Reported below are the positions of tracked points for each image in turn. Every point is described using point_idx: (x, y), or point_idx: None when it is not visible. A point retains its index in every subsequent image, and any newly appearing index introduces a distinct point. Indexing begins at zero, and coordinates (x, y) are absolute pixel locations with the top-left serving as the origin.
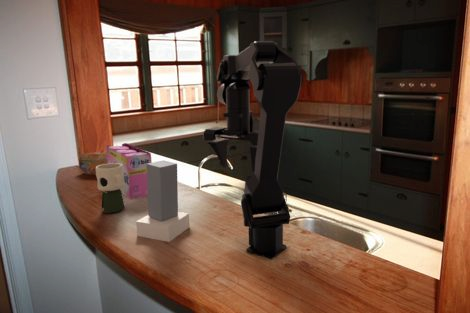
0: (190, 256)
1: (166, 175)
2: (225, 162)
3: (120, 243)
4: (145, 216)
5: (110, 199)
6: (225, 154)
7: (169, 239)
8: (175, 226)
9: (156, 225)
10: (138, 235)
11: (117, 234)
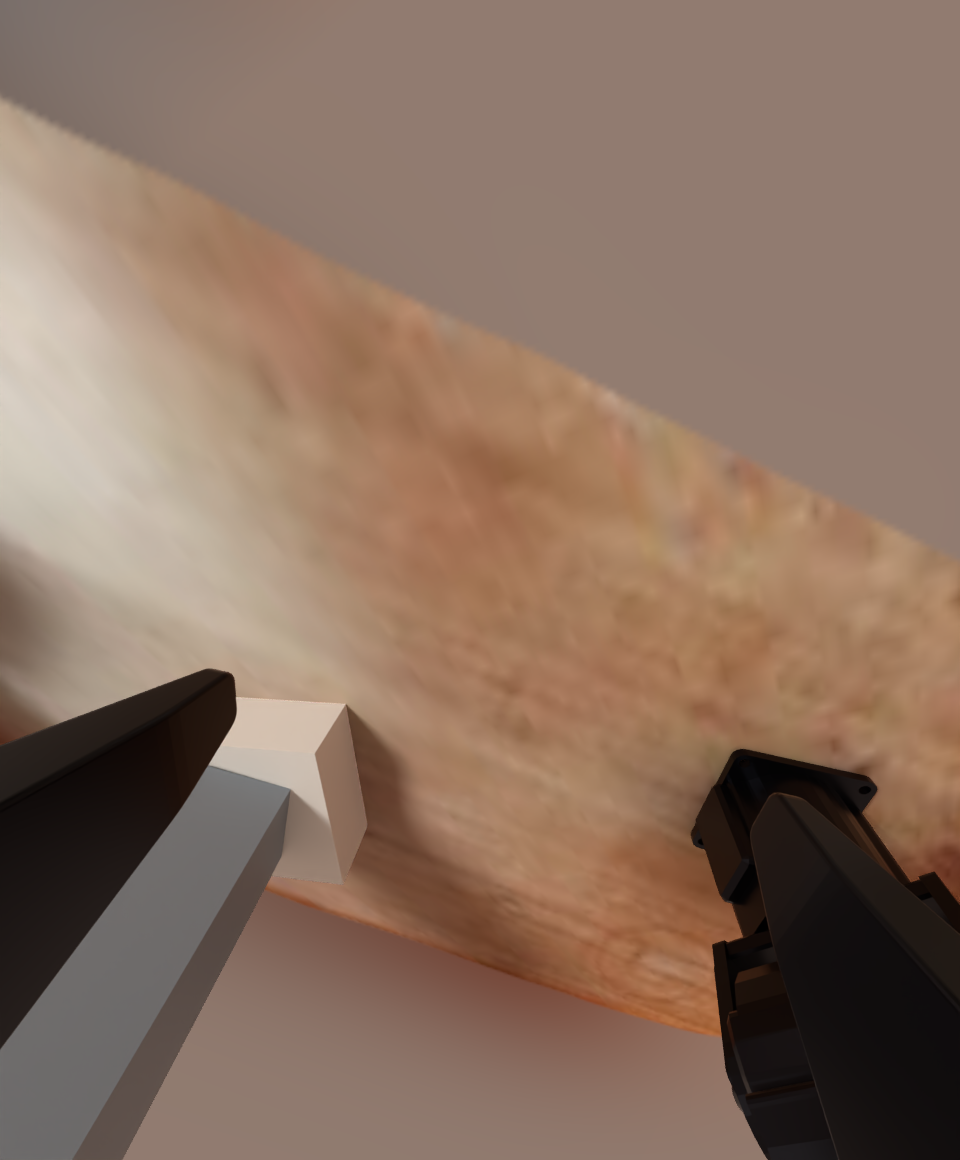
0: (503, 887)
1: (113, 1148)
2: (182, 748)
3: None
4: None
5: None
6: (20, 856)
7: (364, 831)
8: (343, 828)
9: (289, 875)
10: None
11: None
